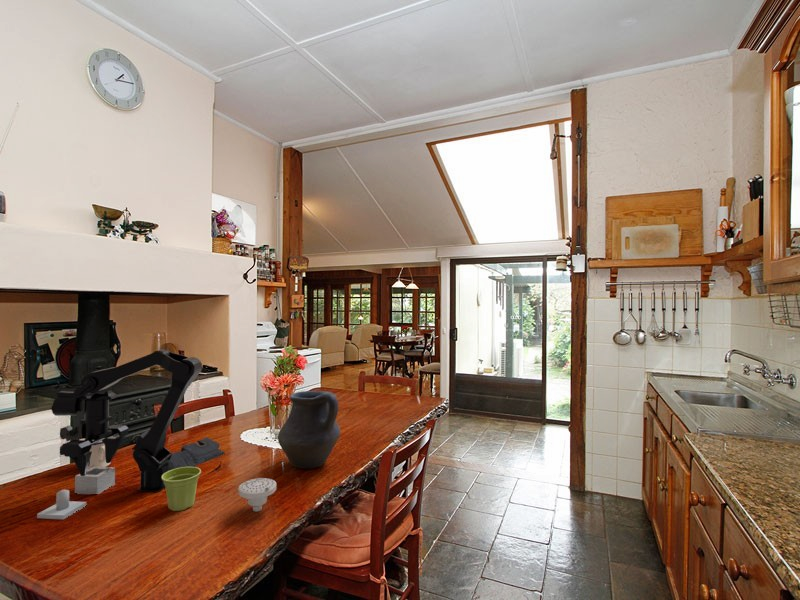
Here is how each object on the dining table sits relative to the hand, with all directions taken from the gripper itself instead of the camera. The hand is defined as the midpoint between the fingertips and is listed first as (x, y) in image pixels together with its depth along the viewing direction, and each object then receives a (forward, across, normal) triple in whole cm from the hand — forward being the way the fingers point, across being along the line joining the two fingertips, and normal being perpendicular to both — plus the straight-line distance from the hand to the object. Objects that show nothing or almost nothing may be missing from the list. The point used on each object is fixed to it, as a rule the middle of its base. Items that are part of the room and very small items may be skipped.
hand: (96, 469), depth 121 cm
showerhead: (+6, +7, +51) cm, 52 cm away
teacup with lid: (+6, -15, -12) cm, 20 cm away
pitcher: (+6, -25, +56) cm, 62 cm away
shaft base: (+6, +13, +2) cm, 14 cm away
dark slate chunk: (+6, -25, +13) cm, 29 cm away
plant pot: (+6, +7, +30) cm, 31 cm away
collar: (+6, 0, 0) cm, 6 cm away
